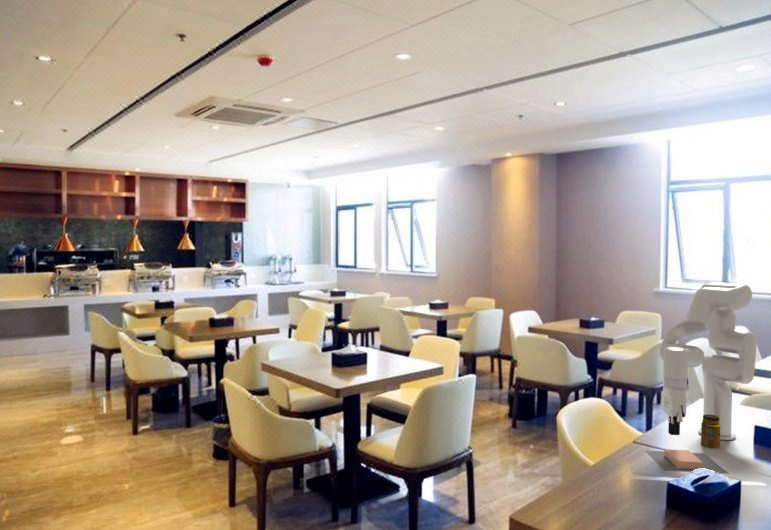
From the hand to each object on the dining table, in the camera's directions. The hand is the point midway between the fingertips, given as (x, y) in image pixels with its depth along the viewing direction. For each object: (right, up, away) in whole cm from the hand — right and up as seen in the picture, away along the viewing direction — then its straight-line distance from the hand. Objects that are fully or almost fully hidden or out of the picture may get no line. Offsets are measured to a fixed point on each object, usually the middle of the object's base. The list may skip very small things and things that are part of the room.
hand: (674, 434), depth 197 cm
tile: (-1, -6, -3) cm, 6 cm away
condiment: (+17, -8, +8) cm, 20 cm away
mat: (0, -8, -7) cm, 11 cm away
